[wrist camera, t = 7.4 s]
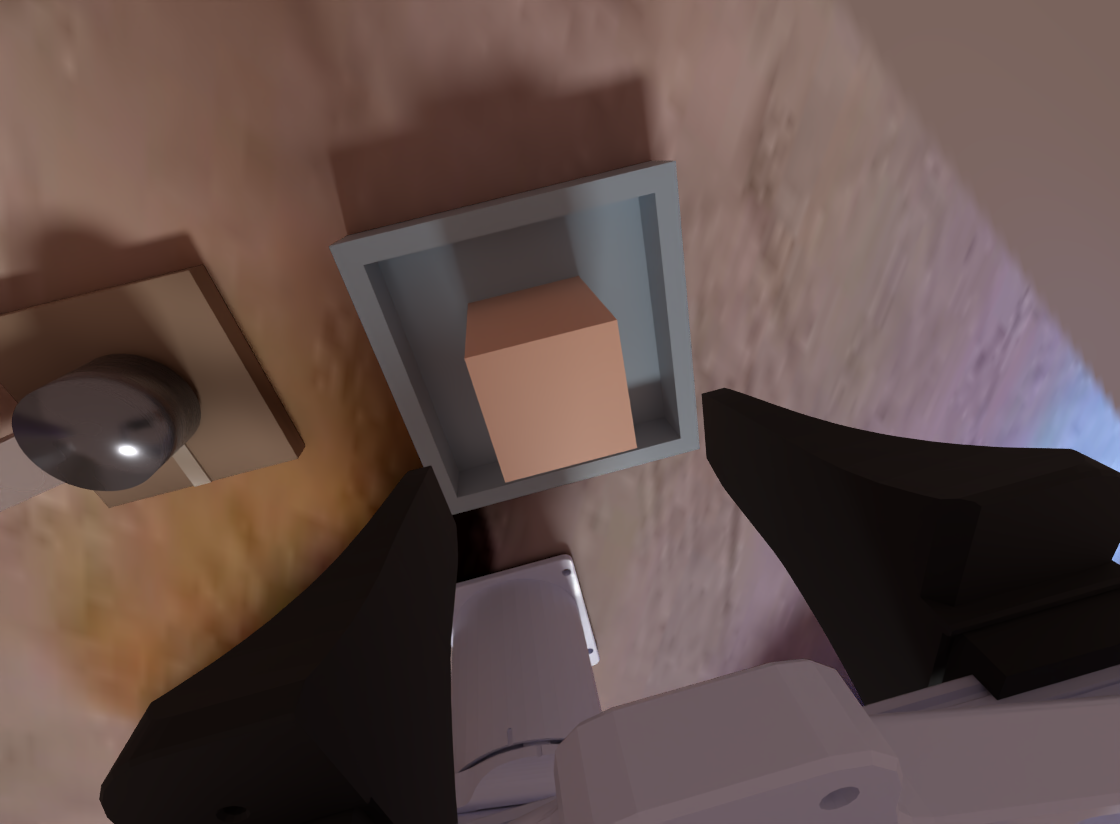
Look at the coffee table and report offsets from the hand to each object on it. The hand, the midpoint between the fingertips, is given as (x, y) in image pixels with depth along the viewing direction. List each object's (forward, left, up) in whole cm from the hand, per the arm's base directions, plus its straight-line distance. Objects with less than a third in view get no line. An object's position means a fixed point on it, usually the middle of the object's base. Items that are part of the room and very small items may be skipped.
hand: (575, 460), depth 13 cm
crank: (+1, +19, -8) cm, 20 cm away
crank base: (+2, +15, -9) cm, 18 cm away
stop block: (0, 0, -9) cm, 9 cm away
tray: (0, 0, -9) cm, 9 cm away
